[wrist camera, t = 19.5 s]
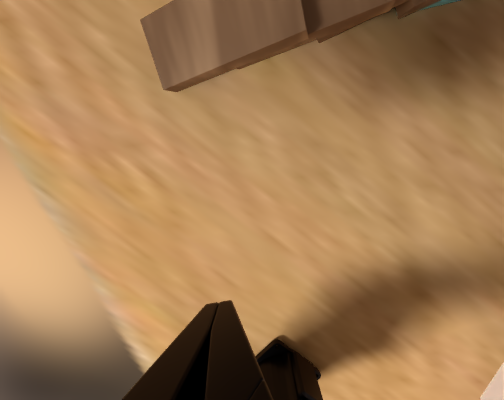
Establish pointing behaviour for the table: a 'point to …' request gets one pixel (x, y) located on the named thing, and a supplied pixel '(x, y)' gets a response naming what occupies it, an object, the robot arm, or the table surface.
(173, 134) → the table surface
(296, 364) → the robot arm
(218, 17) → the domino
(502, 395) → the milk
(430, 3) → the domino
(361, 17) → the domino
